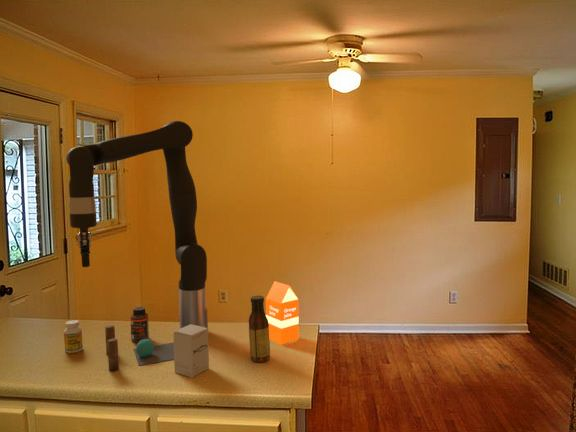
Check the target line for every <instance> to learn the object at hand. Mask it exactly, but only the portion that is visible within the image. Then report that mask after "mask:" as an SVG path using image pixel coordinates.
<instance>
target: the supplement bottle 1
mask: <svg viewBox="0 0 576 432" xmlns="http://www.w3.org/2000/svg"><path fill="white" fill-rule="evenodd" d="M64 326H65V329H64V330H63V341H64V351H65V352H66V353H68V354H71V353H72V354H74V352H75V353H78V352H80V351H82V350H83V348H84V345H83V331H82V327H81V326H80V321H79V320H77V319H75V320H68V321H66V322H65V325H64Z"/></svg>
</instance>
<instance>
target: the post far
mask: <svg viewBox="0 0 576 432" xmlns="http://www.w3.org/2000/svg"><path fill="white" fill-rule="evenodd" d="M115 330H116V328H115V325H111V324H110V325H106V326H104V331H105V334H104V335H105V349H106V350H105V351H106V353H105V354H106V356H108V343H107V341H108V340H109V339H116V332H115Z"/></svg>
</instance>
